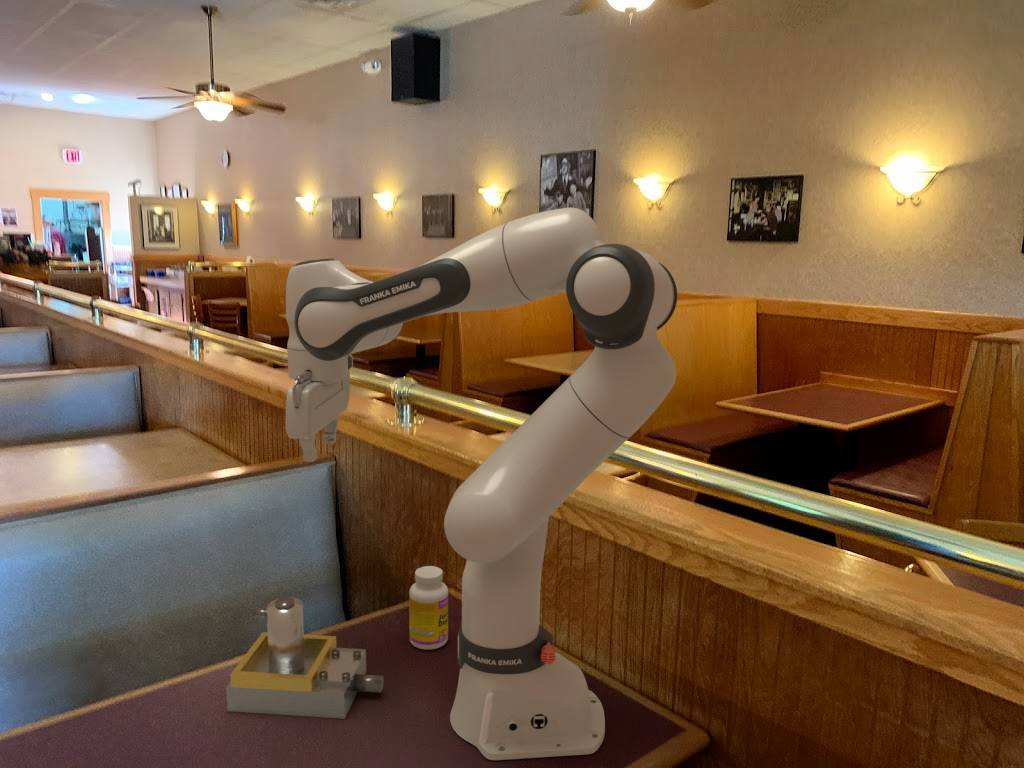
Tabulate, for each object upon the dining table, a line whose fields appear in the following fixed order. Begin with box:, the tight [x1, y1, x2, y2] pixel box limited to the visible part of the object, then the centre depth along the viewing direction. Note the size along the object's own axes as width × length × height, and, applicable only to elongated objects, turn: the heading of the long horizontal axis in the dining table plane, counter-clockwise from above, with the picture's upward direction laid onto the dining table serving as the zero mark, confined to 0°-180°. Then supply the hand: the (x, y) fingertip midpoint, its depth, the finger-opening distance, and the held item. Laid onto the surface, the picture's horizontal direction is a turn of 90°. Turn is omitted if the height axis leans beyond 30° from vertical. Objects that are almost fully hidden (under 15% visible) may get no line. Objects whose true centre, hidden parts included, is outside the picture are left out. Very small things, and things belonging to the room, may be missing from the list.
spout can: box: [252, 596, 305, 674], centre depth 117 cm, size 7×5×11 cm
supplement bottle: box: [408, 565, 449, 651], centre depth 132 cm, size 7×7×13 cm
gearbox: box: [225, 631, 384, 720], centre depth 118 cm, size 22×12×6 cm, turn 86°
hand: (320, 451), depth 122 cm, fingers open, 8 cm apart
